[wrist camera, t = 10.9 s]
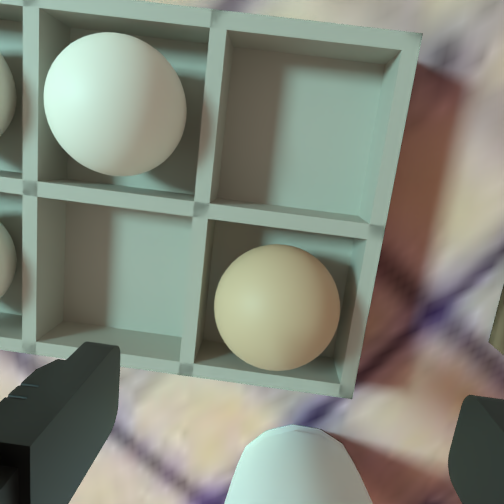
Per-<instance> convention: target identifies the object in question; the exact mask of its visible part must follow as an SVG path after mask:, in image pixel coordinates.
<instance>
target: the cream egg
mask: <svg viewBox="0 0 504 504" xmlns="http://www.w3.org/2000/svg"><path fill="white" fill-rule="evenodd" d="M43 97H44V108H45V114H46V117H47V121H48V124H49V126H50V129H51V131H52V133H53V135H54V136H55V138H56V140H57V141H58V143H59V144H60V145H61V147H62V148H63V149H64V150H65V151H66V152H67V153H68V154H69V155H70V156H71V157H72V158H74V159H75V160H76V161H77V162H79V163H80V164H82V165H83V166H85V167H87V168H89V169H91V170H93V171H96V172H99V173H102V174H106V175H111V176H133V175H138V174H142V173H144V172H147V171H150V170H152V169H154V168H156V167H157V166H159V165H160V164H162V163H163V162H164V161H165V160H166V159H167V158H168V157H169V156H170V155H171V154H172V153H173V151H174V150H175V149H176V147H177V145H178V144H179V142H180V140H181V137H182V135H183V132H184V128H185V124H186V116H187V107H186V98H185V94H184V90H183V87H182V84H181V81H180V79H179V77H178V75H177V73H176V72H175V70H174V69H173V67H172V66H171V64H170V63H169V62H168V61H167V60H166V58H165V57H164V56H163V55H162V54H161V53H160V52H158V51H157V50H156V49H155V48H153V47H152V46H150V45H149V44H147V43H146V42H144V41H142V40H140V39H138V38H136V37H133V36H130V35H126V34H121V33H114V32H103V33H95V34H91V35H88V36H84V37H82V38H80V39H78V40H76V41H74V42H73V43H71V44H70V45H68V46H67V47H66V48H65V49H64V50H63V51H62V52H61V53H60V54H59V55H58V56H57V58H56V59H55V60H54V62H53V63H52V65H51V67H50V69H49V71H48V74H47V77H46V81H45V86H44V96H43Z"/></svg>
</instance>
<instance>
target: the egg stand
mask: <svg viewBox="0 0 504 504" xmlns="http://www.w3.org/2000/svg"><path fill="white" fill-rule="evenodd" d="M489 343H490V344H491V345H493V346H494V347H495V348H496V349H497V350H498V351H499V352H501V353H502V354H503V355H504V286H503V289H502V293H501V297H500V301H499V305H498V308H497V312H496V316H495V320H494V324H493V327H492V331H491V335H490V339H489Z"/></svg>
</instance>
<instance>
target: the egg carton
mask: <svg viewBox="0 0 504 504" xmlns="http://www.w3.org/2000/svg"><path fill="white" fill-rule="evenodd" d="M103 32H114V33H121V34H126V35H130V36H133V37H136V38H138V39H140V40H142V41H144V42H146V43H147V44H149V45H150V46H152V47H153V48H155V49H156V50H157V51H158V52H160V53H161V54H162V55H163V56H164V57H165V58H166V60H167V61H168V62H169V63H170V64H171V66H172V67H173V69H174V70H175V72H176V73H177V75H178V77H179V79H180V81H181V84H182V87H183V90H184V94H185V98H186V107H187V116H186V124H185V128H184V132H183V135H182V137H181V140H180V142H179V144H178V145H177V147H176V149H175V150H174V151H173V153H172V154H171V155H170V156H169V157H168V158H167V159H166V160H165V161H164V162H163V163H162V164H160V165H159V166H157V167H156V168H154V169H152V170H150V171H147V172H144V173H142V174H138V175H133V176H111V175H106V174H102V173H99V172H96V171H93V170H91V169H89V168H87V167H85V166H83V165H82V164H80V163H79V162H77V161H76V160H75V159H74V158H72V157H71V156H70V155H69V154H68V153H67V152H66V151H65V150H64V149H63V148H62V147H61V145H60V144H59V143H58V141H57V140H56V138H55V136H54V135H53V133H52V131H51V129H50V126H49V124H48V121H47V117H46V114H45V108H44V97H43V96H44V86H45V81H46V77H47V74H48V71H49V69H50V67H51V65H52V63H53V62H54V60H55V59H56V58H57V56H58V55H59V54H60V53H61V52H62V51H63V50H64V49H65V48H66V47H67V46H68V45H70V44H71V43H73V42H74V41H76V40H78V39H80V38H82V37H84V36H88V35H91V34H95V33H103ZM422 35H423V33H414V32H405V31H397V30H388V29H379V28H370V27H362V26H353V25H344V24H336V23H327V22H318V21H310V20H301V19H292V18H284V17H275V16H266V15H257V14H249V13H240V12H231V11H223V10H214V9H205V8H197V7H188V6H179V5H170V4H162V3H153V2H144V1H136V0H0V53H1V55H2V56H3V57H4V59H5V61H6V63H7V64H8V66H9V68H10V71H11V73H12V75H13V79H14V82H15V87H16V96H17V99H16V108H15V113H14V116H13V119H12V121H11V123H10V125H9V126H8V128H7V129H6V131H5V132H4V133H3V134H2V135H1V136H0V223H1V224H2V225H3V226H4V227H5V228H6V230H7V231H8V233H9V234H10V236H11V238H12V240H13V243H14V246H15V250H16V257H17V264H16V271H15V275H14V278H13V280H12V283H11V284H10V286H9V288H8V290H7V291H6V292H5V294H4V295H3V296H2V297H1V298H0V350H6V351H13V352H21V353H28V354H35V355H42V356H49V357H56V358H63V359H68V358H69V357H70V356H71V355H72V354H73V353H74V352H75V351H76V350H77V349H78V348H79V347H80V346H81V345H82V344H83V343H84V342H86V341H88V342H95V343H102V344H110V345H117V346H119V348H120V354H121V355H120V367H127V368H135V369H142V370H149V371H156V372H163V373H170V374H177V375H184V376H192V377H199V378H206V379H213V380H220V381H227V382H234V383H241V384H249V385H256V386H263V387H270V388H277V389H284V390H291V391H298V392H306V393H313V394H320V395H327V396H334V397H341V398H348V399H352V397H353V392H354V387H355V381H356V376H357V371H358V366H359V361H360V355H361V350H362V345H363V340H364V335H365V330H366V324H367V319H368V314H369V309H370V304H371V299H372V293H373V288H374V283H375V278H376V273H377V267H378V262H379V257H380V252H381V247H382V242H383V236H384V231H385V226H386V221H387V216H388V211H389V205H390V200H391V195H392V190H393V185H394V179H395V174H396V169H397V164H398V159H399V154H400V148H401V143H402V138H403V133H404V128H405V123H406V117H407V112H408V107H409V102H410V97H411V91H412V86H413V81H414V76H415V71H416V66H417V60H418V55H419V50H420V45H421V40H422ZM271 244H282V245H289V246H294V247H297V248H300V249H302V250H304V251H306V252H308V253H310V254H311V255H313V256H314V257H316V258H317V259H318V260H319V261H320V262H321V263H322V264H323V265H324V266H325V267H326V269H327V270H328V271H329V273H330V274H331V276H332V278H333V280H334V282H335V284H336V287H337V290H338V294H339V300H340V316H339V322H338V326H337V329H336V332H335V334H334V336H333V338H332V340H331V342H330V343H329V345H328V346H327V347H326V348H325V350H324V351H323V352H322V353H321V354H320V355H319V356H318V357H316V358H315V359H314V360H312V361H310V362H309V363H307V364H305V365H303V366H300V367H298V368H295V369H291V370H285V371H270V370H265V369H260V368H257V367H254V366H252V365H250V364H248V363H246V362H245V361H243V360H242V359H240V358H239V357H238V356H236V355H235V354H234V353H233V352H232V351H231V350H230V349H229V347H228V346H227V345H226V343H225V342H224V340H223V338H222V337H221V335H220V333H219V330H218V328H217V324H216V320H215V313H214V300H215V294H216V290H217V287H218V284H219V282H220V279H221V277H222V275H223V274H224V272H225V271H226V269H227V268H228V267H229V266H230V265H231V264H232V262H233V261H235V260H236V259H237V258H238V257H239V256H241V255H242V254H244V253H245V252H247V251H249V250H251V249H254V248H257V247H260V246H264V245H271Z"/></svg>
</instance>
